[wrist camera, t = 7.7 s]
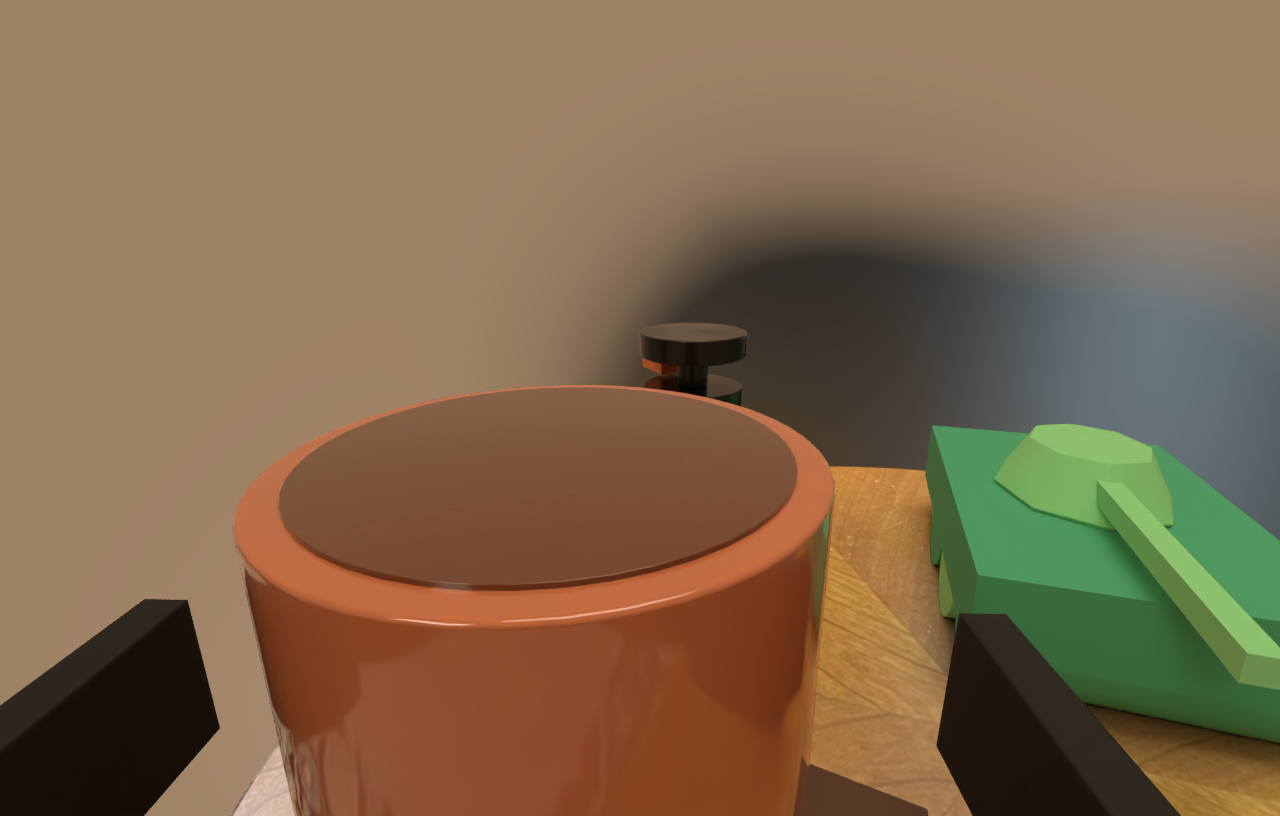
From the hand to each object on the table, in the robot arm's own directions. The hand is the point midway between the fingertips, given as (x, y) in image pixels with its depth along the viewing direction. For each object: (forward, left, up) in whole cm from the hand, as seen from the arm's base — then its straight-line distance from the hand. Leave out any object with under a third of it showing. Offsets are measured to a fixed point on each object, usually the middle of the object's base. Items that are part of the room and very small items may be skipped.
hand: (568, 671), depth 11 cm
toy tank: (+15, +39, -20) cm, 46 cm away
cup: (0, 0, -6) cm, 6 cm away
